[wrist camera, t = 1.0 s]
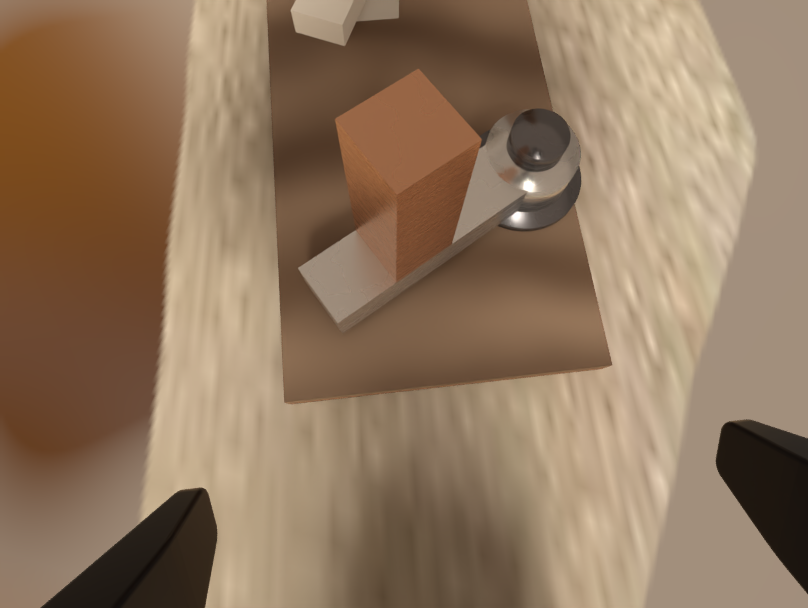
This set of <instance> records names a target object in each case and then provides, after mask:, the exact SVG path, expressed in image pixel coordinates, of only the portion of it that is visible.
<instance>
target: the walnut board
mask: <svg viewBox="0 0 808 608" xmlns="http://www.w3.org/2000/svg"><path fill="white" fill-rule="evenodd" d="M295 1H296V0H267V18H268V41H269V64H270V87H271V109H272V132H273V155H274V177H275V200H276V223H277V246H278V268H279V291H280V314H281V336H282V359H283V382H284V402H285V403H288V404H296V403H305V402H314V401H323V400H331V399H340V398H349V397H358V396H367V395H376V394H384V393H393V392H402V391H411V390H420V389H429V388H437V387H446V386H455V385H464V384H473V383H482V382H491V381H499V380H508V379H517V378H526V377H535V376H544V375H552V374H561V373H570V372H579V371H588V370H597V369H603V368H606V367H608V366H611V365H612V362H611V357H610V353H609V349H608V345H607V340H606V336H605V332H604V328H603V323H602V319H601V315H600V310H599V306H598V302H597V298H596V293H595V289H594V285H593V281H592V276H591V272H590V268H589V264H588V259H587V255H586V251H585V246H584V242H583V238H582V234H581V229H580V225H579V221H578V217H577V212H576V208H575V204H574V205H573V206H572V208H571V209H570V210H569V212H568V213H567V214H566V215H565V216H564V217H563V218H562V219H561V220H559V221H558V222H556V223H555V224H553V225H551V226H549V227H547V228H544V229H540V230H536V231H525V232H522V231H513V230H508V229H505V228H502V227H499V226H496V227H495V228H493V229H492V230H490V231H489V232H488V233H486V234H485V235H483V236H482V237H480V238H479V239H478V240H476V241H475V242H473V243H472V244H470V245H469V246H468V247H466V248H465V249H463V250H462V251H460V252H459V253H457V254H456V255H455V256H453V257H452V258H450V259H449V260H447V261H446V262H445V263H443V264H442V265H440V266H439V267H437V268H436V269H435V270H433V271H432V272H430V273H429V274H427V275H426V276H425V277H423V278H422V279H420V280H419V281H417V282H416V283H415V284H413V285H412V286H410V287H409V288H407V289H406V290H405V291H403V292H402V293H400V294H399V295H397V296H396V297H395V298H393V299H392V300H390V301H389V302H387V303H386V304H385V305H383V306H382V307H380V308H379V309H377V310H376V311H375V312H373V313H372V314H370V315H369V316H367V317H366V318H365V319H363V320H362V321H360V322H359V323H357V324H356V325H355V326H353V327H352V328H350V329H349V330H347V331H346V332H345V333H343V334H342V332H341V331H340V329H339V328H338V327H337V325H336V324H335V322H334V321H333V320H332V318H331V317H330V315H329V314H328V313H327V311H326V310H325V308H324V307H323V306H322V304H321V303H320V302H319V300H318V299H317V297H316V296H315V295H314V293H313V292H312V290H311V289H310V288H309V286H308V285H307V283H306V282H305V280H304V278H303V276H302V275H301V273H300V271H299V269H298V268H299V267H300V266H302V265H303V264H305V263H306V262H308V261H309V260H311V259H312V258H314V257H316V256H317V255H319V254H320V253H322V252H323V251H325V250H326V249H328V248H329V247H331V246H332V245H334V244H335V243H337V242H338V241H340V240H341V239H343V238H344V237H346V236H347V235H349V234H351V233H352V232H354V231H355V230H356V229H355V224H354V218H353V213H352V208H351V202H350V197H349V192H348V186H347V181H346V175H345V170H344V165H343V159H342V154H341V149H340V143H339V138H338V132H337V127H336V122H335V118H337V117H339V116H340V115H342V114H344V113H345V112H347V111H349V110H350V109H352V108H354V107H355V106H357V105H359V104H360V103H362V102H364V101H365V100H367V99H369V98H370V97H372V96H374V95H375V94H377V93H379V92H380V91H382V90H384V89H385V88H387V87H389V86H390V85H392V84H394V83H395V82H397V81H399V80H400V79H402V78H404V77H405V76H407V75H409V74H410V73H412V72H414V71H415V70H417V69H419V70H420V71H421V72H422V73H423V74H424V75H425V76H426V77H427V78H428V80H429V81H430V82H431V83H432V84H433V85H434V86H435V87H436V89H437V90H438V91H439V92H440V93H441V94H442V95H443V96H444V97H445V99H446V100H447V101H448V102H449V103H450V104H451V105H452V106H453V108H454V109H455V110H456V111H457V112H458V113H459V114H460V115H461V116H462V118H463V119H464V120H465V121H466V122H467V123H468V124H469V125H470V126H471V128H472V129H473V130H474V131H475V132H476V133H477V134H478V135H479V136H481V135H482V134H483V133H485V132H486V131H488V130H490V129H492V127H493V126H494V124H495V123H496V122H497V121H498V120H500V119H501V118H502V117H504V116H505V115H507V114H509V113H512V112H515V111H518V110H525V109H537V108H540V109H547V110H550V111H553V110H552V106H551V101H550V97H549V93H548V89H547V84H546V80H545V76H544V71H543V67H542V63H541V59H540V54H539V50H538V46H537V42H536V37H535V33H534V29H533V24H532V20H531V16H530V12H529V7H528V3H527V0H399V18H395V19H382V20H369V21H356V23H355V26H354V28H353V30H352V32H351V34H350V36H349V39H348V41H347V43H346V45H345V46H342V45H339V44H335V43H332V42H328V41H325V40H321V39H318V38H315V37H311V36H308V35H304V34H301V33H297V32H296V31H295V27H294V23H293V18H292V14H291V8H292V6H293V4H294V3H295Z"/></svg>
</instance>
